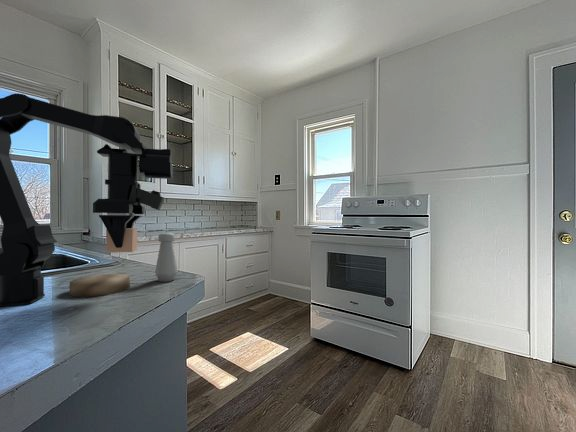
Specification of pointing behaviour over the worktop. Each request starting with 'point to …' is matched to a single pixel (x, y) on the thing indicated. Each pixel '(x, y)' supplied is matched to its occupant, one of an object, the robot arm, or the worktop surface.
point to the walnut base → (99, 285)
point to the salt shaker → (166, 258)
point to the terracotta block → (128, 242)
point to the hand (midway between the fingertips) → (122, 246)
